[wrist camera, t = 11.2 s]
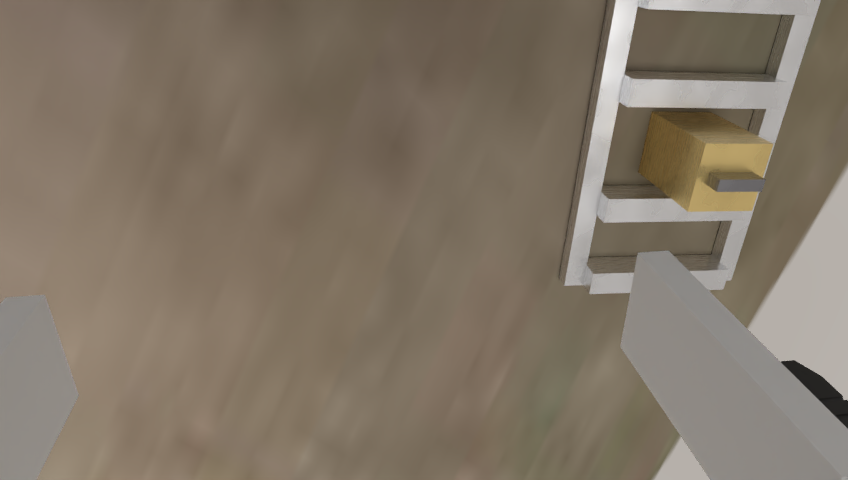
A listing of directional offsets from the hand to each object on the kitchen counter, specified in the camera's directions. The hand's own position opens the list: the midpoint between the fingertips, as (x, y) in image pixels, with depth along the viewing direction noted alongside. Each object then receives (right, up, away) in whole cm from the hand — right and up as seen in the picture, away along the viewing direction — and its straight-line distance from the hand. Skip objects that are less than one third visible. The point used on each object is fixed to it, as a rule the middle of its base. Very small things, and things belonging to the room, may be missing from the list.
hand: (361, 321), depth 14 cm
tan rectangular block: (+19, +9, +31) cm, 37 cm away
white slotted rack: (+20, +9, +31) cm, 37 cm away
